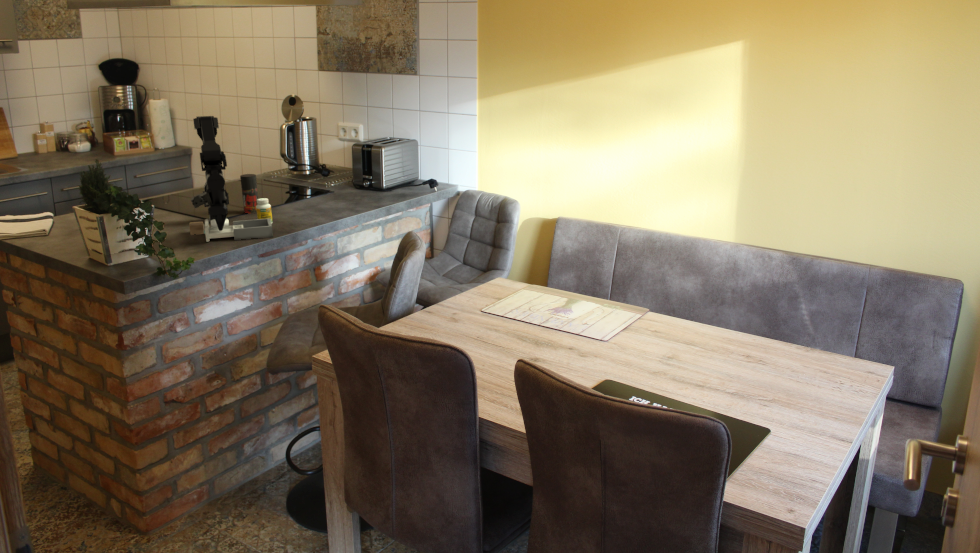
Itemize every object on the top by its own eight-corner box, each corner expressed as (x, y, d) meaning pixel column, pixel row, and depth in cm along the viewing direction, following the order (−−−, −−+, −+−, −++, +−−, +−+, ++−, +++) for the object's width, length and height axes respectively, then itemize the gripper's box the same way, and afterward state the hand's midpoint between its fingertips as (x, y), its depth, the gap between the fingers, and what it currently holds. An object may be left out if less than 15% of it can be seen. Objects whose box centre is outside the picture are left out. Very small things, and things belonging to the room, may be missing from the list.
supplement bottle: (270, 221, 279) (267, 197, 276) (274, 224, 275) (272, 199, 272) (256, 223, 277) (253, 198, 273) (260, 226, 272) (257, 201, 269)
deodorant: (241, 213, 292) (236, 176, 287) (250, 209, 297) (247, 173, 292) (253, 214, 290) (249, 177, 285) (262, 211, 295) (259, 174, 290)
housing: (233, 231, 265) (232, 221, 264) (270, 228, 269) (269, 218, 268) (234, 240, 254) (233, 229, 253) (273, 237, 258) (272, 226, 257)
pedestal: (191, 231, 265) (189, 222, 264) (204, 230, 266) (202, 221, 265) (190, 234, 261) (189, 225, 260) (203, 233, 262) (202, 224, 261)
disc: (211, 224, 259) (210, 218, 258) (228, 222, 261) (228, 216, 260) (211, 228, 253) (210, 222, 253) (229, 226, 255) (228, 220, 255)
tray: (205, 232, 262) (203, 219, 260) (243, 229, 266) (242, 216, 265) (204, 241, 251) (203, 227, 249) (244, 238, 255) (243, 224, 253)
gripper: (191, 181, 258) (197, 223, 263) (189, 192, 241) (195, 237, 246) (224, 179, 262) (229, 221, 267) (225, 189, 245) (230, 234, 250)
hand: (220, 228), depth 257 cm, fingers closed on disc, 6 cm apart
